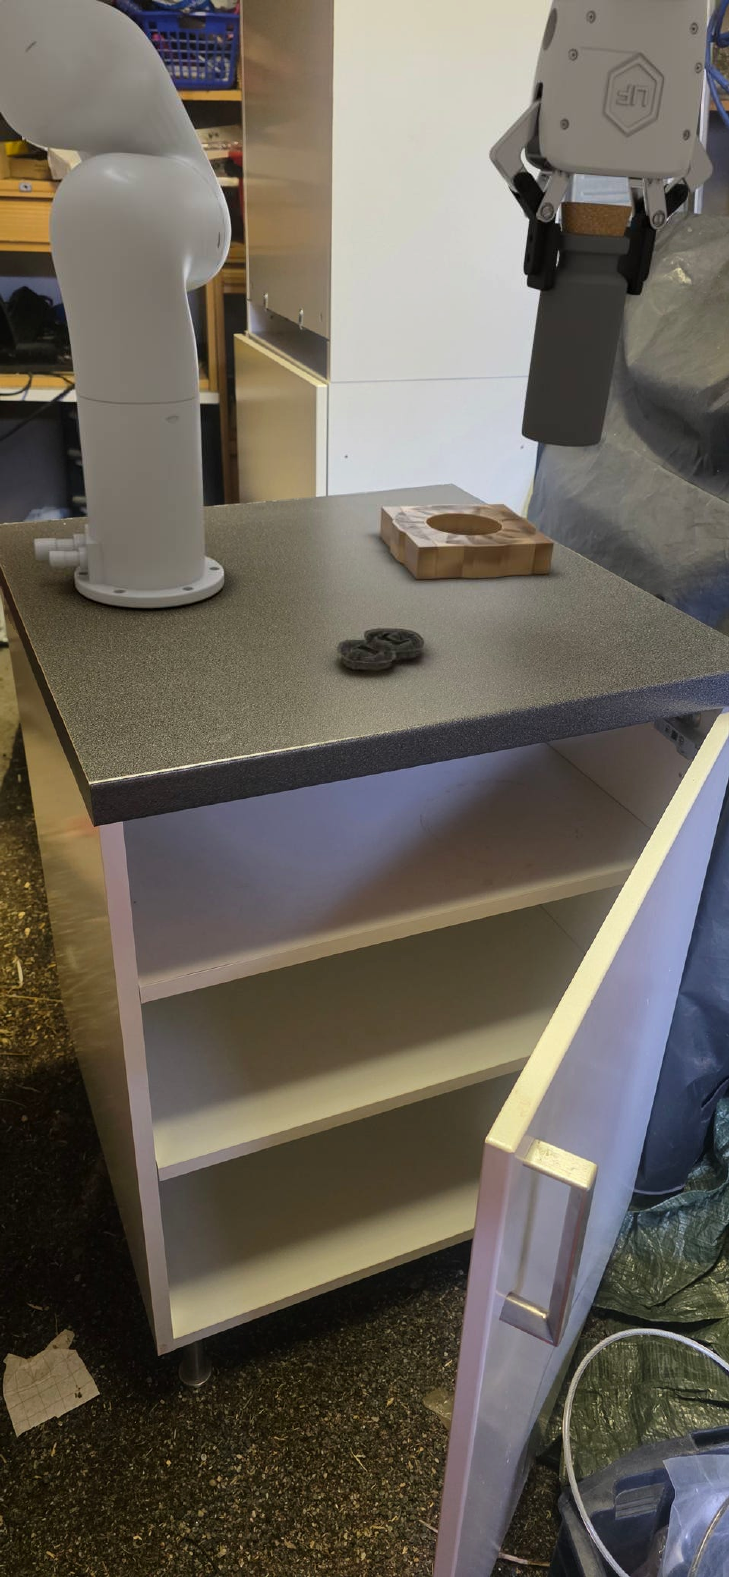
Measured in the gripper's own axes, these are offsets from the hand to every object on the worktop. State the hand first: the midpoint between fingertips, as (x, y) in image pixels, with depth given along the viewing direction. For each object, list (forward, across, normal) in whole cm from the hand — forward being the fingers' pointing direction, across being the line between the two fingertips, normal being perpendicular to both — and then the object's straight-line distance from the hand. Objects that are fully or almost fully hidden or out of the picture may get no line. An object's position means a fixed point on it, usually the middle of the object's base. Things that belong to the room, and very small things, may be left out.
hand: (583, 288), depth 70 cm
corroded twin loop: (+25, -14, -4) cm, 29 cm away
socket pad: (+25, 0, +20) cm, 32 cm away
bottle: (+10, 0, 0) cm, 10 cm away
